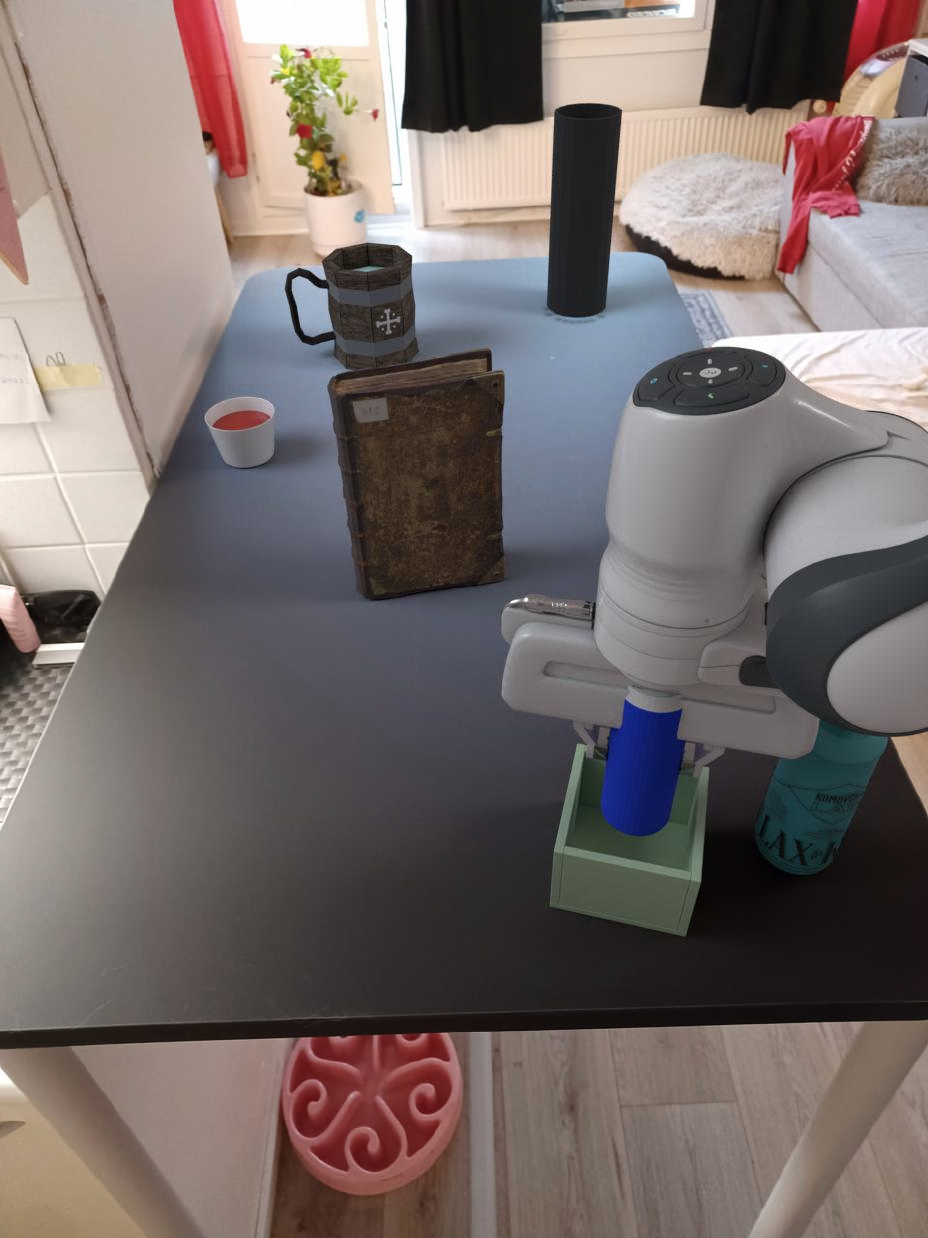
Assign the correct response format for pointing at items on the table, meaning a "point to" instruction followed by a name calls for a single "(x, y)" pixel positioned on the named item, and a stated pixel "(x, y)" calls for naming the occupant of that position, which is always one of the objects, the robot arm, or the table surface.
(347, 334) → the mug
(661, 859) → the bin
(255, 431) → the white cup
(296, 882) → the table surface
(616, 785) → the beverage can
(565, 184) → the vase
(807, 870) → the beverage bottle
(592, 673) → the robot arm
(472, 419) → the book
